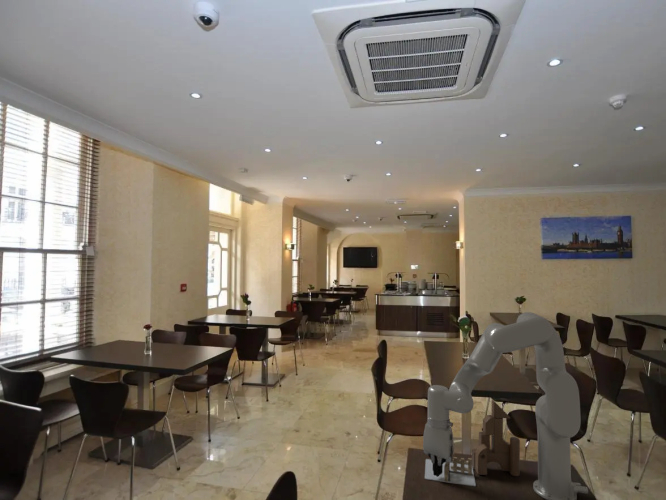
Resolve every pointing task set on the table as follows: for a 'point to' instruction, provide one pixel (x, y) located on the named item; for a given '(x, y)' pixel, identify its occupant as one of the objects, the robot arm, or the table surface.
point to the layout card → (449, 475)
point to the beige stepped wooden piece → (446, 471)
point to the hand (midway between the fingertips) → (437, 474)
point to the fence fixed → (462, 465)
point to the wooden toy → (496, 445)
